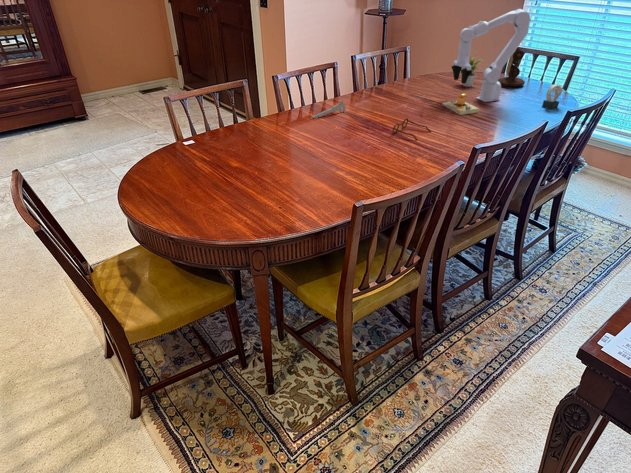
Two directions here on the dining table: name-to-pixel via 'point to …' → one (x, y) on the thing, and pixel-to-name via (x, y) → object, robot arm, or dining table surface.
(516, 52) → the brown carved statue
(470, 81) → the house plant
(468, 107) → the pale green hollowed slab
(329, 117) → the dining table surface
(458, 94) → the amber jar
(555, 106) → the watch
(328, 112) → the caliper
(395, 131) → the glasses
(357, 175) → the dining table surface
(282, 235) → the dining table surface
